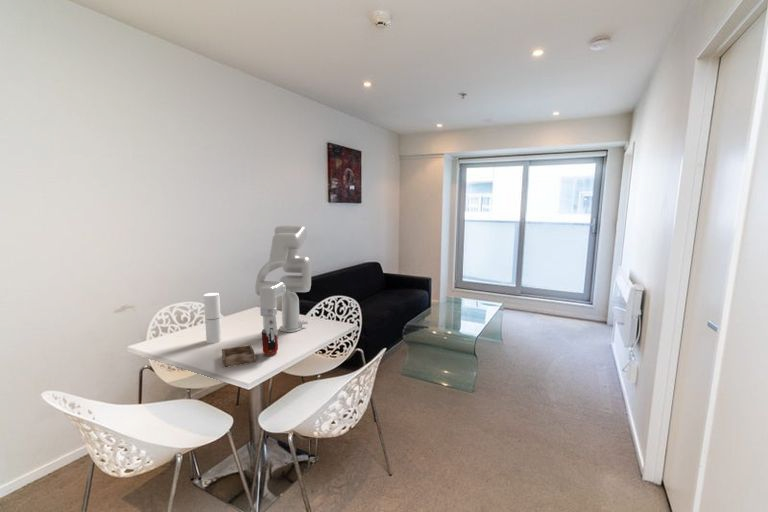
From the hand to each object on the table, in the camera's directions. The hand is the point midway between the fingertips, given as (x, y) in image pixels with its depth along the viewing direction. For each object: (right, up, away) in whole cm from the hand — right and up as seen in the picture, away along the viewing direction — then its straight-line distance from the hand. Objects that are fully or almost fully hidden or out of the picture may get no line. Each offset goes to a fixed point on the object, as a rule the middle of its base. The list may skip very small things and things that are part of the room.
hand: (270, 346), depth 163 cm
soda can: (0, -4, +1) cm, 4 cm away
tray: (-13, -4, -6) cm, 15 cm away
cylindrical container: (-35, -1, +15) cm, 38 cm away
